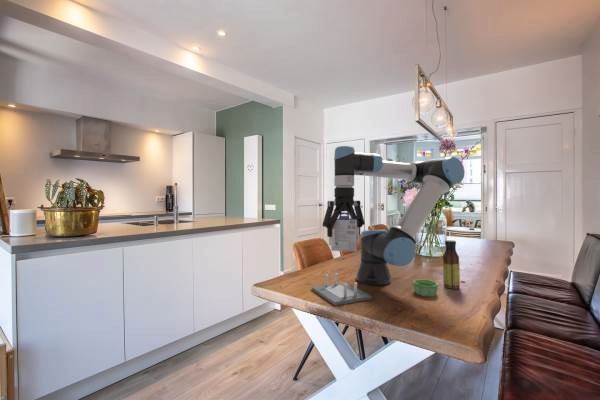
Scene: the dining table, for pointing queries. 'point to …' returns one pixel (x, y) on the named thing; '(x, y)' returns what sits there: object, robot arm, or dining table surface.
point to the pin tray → (340, 292)
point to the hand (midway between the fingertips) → (344, 244)
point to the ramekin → (425, 287)
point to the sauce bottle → (451, 266)
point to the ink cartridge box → (345, 234)
